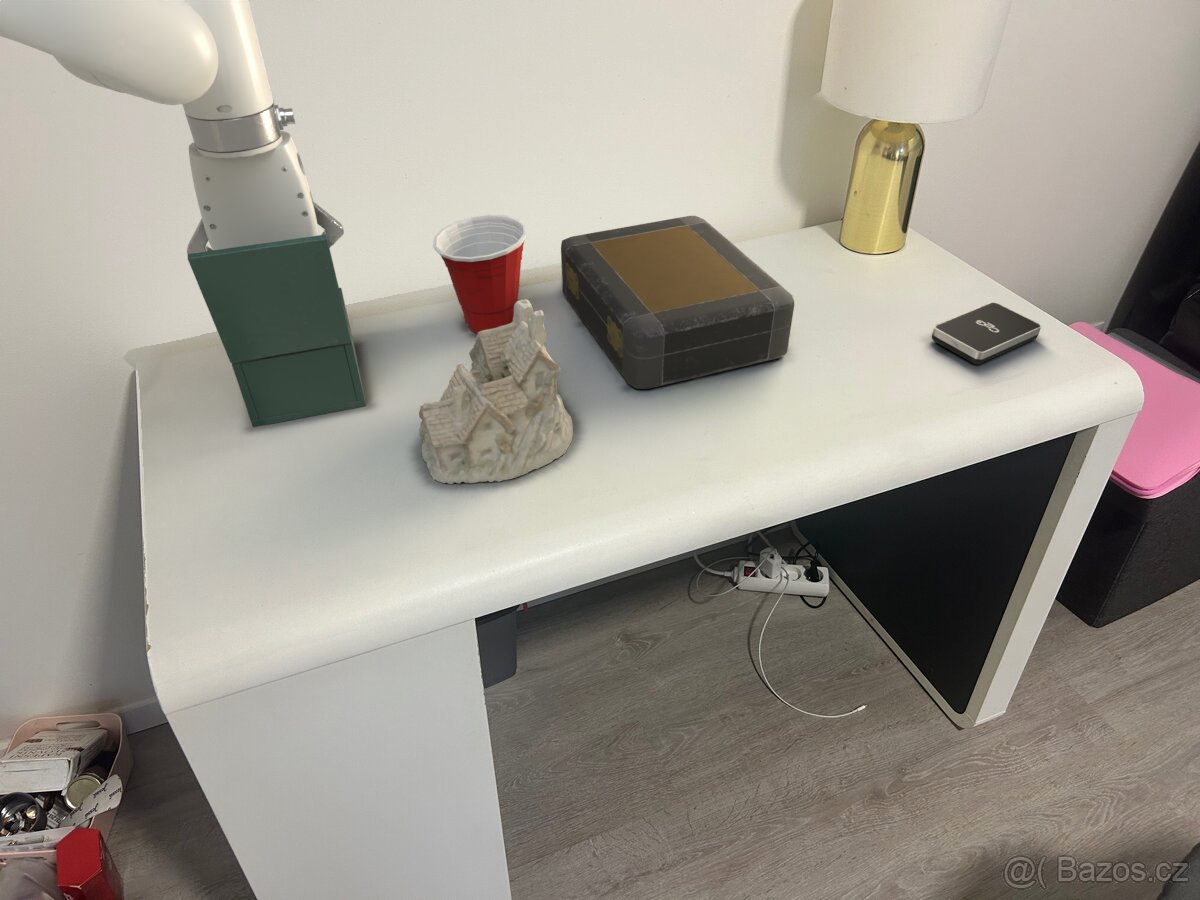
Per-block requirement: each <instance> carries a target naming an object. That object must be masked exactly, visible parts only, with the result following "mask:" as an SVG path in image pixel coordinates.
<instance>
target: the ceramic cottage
mask: <svg viewBox="0 0 1200 900" xmlns="http://www.w3.org/2000/svg"><path fill="white" fill-rule="evenodd" d="M544 321H545V313H544V312H543V309H539V310H535V311H534V308H533V305H532V304H531V302H530V300H529V299H526V298H524V299H520V300H519V299H518V301H517V302H516V303H515V305H514V316H513V322H511V323H510V324H507V325H503V326H500V327H497V328H493V329H488V330H483V331H480V332H478V334H477V333H476V334H477V335H476V336H475V340H474V344H473V346H472V349H470V351H469V353H468V355H469V357H470V360H471V362H472V363H471V369H470V370H468V369H467V368H466V367H465V366H464V364H462V363H459V364H456V370H453V375H452V376H451V377H450V378H449V380H448V383H449V384H448V385H447V388H445V389H444V391H443V392H442V396H441V397H440V399H439V400H438V401H435V402H424V403H423V404H422V405H421V406H420V407H419V411H418V416H419V418H420V419H421V422H420V427H419V429H418V432H419V433H418V436H419V438H421V441H422V444H421V450H420V451H421V452H420V453H421V458H422V460H423V462H424V463H425V464H426V467H427V470H428V472H429V475H430V476H431V477H432V479H433V481H435V480H436V481H437V482H439V483H442V484H446V483H447V484H448V485H449V484H450V485H453V484H455V483H456V484H461V483H465V484H475V483H484V482H486V483H487V482H488V483H492V482H497V483H499V482H502V481H508V480H511V479H516V478H518V477H520V476H523V475H528V474H529V472H532V471H534V470H539V469H540V468H543V467H545V466H547V465H548V464H550V463H553V461H554V460H555V459H556V460H558V458H561V456H563V455H565V454H566V452H567V451H568V449H569V447H570V445H571V443H572V441H573V436H574V424H573V420H572V416H571V415H570V414H569V412H568V410H567V409H565V405H564V401H563V398H562V396H561V395H560V394H559V393H558V377H559V375H560V374H561V372H562V370H561V367H560V365H559V364H558V363H557V362H555V361H554V360H553V358H552V357H551V355H550V354H549V353H548V351H547V348H546V347H545V343H546V341H547V333H546V327H545V325H544Z"/></svg>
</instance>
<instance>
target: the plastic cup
mask: <svg viewBox="0 0 1200 900" xmlns="http://www.w3.org/2000/svg"><path fill="white" fill-rule="evenodd" d="M527 235H528V233H527V225H526V224H525V223H524V222H523V221H521V220H520V219H519V218H517V217H516V218H515V217H512V216H509V215H504V214H482V215H476V216H470V217H466V218H463V219H460V220H456V221H454V222H452V223H450V224H449V225H447V226H444V227H443V228H441V229H440V230H439V231H438V233H436V234H435V236H433V242H432V247H433V249H434V250H435V251H436V253H438V255H440V257H441V260H442V261H443V263H444V266H445V267H446V269H447V271H448V274H449V277H450V281H451V283H452V286H453V289H454V292H455V295H456V298H457V301H458V304H459V305H460V307H461V310H462V314H463V317H464V320H465V323H466V324H467V327H468V329H469V330H470V331H471V332H472V333H474V334H478V332H480V331H483V330H488V329H493V328H497V327H500V326H503V325H507V324H510V323H511V322H513V316H514V305H515V303H516V302H517V301H519V291H520V281H521V280H520V278H521V269H522V268H521V267H522V260H523V251H524V244H525V240H526V239H527Z"/></svg>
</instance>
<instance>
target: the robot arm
mask: <svg viewBox="0 0 1200 900" xmlns="http://www.w3.org/2000/svg"><path fill="white" fill-rule="evenodd" d="M0 37H1V38H5V39H8V40H11V41H14V42H16V43H19V44H22V45H25V46H28V47H30V48H32V49H36V50H38V51H41V52H43V53H46V54H48V55H51V56H52V57H53V58H54V59H55V60H56V61H57V63H58V64H60V66H61V67H62V68H63V69H65V70H66V71H67V72H69V73H70V74H72V76H74V77H76V78H78V79H80V80H81V81H84V82H86V83H88V84H91V85H93V86H96V87H100V88H104V89H107V90H110V91H114V92H117V93H122V94H127V95H130V96H134V97H137V98H141V99H144V100H147V101H150V102H154V103H157V104H161V105H165V106H166V105H167V106H178V105H179V106H180V105H182V108H183V110H184V114H185V118H186V121H187V123H188V127H189V130H190V135H191V137H192V142H191V143H190V144H189V145H188V157H189V164H190V169H191V171H190V172H191V177H192V184H193V187H194V191H195V196H196V200H197V205H198V209H199V212H200V216H201V219H200V220H199V222H198V224H197V227H196V228H195V230H194V232H193V235H192V236H191V238H190V240H189V242H188V244H187V247H186V248H187V249H186V255H188V254H191V253H198V252H206V251H213V250H220V249H227V248H234V247H241V246H248V245H255V244H262V243H269V242H276V241H283V240H290V239H297V238H304V237H311V236H319V228H318V226H320V227H321V228H322V229H323V232H322V233H321V234H320V235H327V239H328V244H329V248H330V249H331V247H332V246H334V245H335V244H336V243H337V242H338V241H339V239H341V237H342V236H343V235H344V232H345V230H344V226H343V224H342V223H341V222H340V221H338V219H336V218H335V217H334V216H333V215H331V214H330V213H329V212H327V211H326V210H325V209H324V208H322V206H320V205H319V204H317V203H316V202H315V201H314V199H313V195H312V192H311V188H310V185H309V181H308V178H307V174H306V171H305V168H304V165H303V162H302V161H303V160H302V159H301V157H300V156H301V155H300V154H299V153H300V152H299V151H298V148H297V146H296V143H295V142H294V140H293V138H292V136H291V133H289V131H284V127H288V126H289V125H295V124H296V119H295V115H294V110H293V108H292V107H290V108H284V107H279V104H276V103H275V100H274V98H273V97H274V96H273V93H272V90H271V86H270V80H269V77H268V73H267V70H266V66H265V61H264V57H263V53H262V50H261V49H262V48H261V45H260V41H259V36H258V33H257V28H256V25H255V21H254V17H253V13H252V7H251V4H250V0H0ZM208 243H209V246H210V247H209V246H208V245H207V244H208Z"/></svg>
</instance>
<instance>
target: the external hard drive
mask: <svg viewBox="0 0 1200 900" xmlns="http://www.w3.org/2000/svg"><path fill="white" fill-rule="evenodd" d="M1041 328H1042V324H1041V323H1039V322H1037V321H1035V320H1034V319H1031V318H1029V317H1027V316H1025V315H1023V314H1021V313H1019V312H1017V311H1014V310H1013V309H1010V307H1009V308H1008V307H1006V306H1004V305H1003V304H1001V303H998V302H995V301H991V302H987V303H985V304H983V305H980V306H978V307H975V308H974V309H971V310H969V311H966V312H964V313H961V314H958V315H957V316H954V317H952V318H949V319H946V320H944V321H941V322H939V323H936V324H935V325H934V326H933V329H932V332H931V340H932V341H934V342H935V343H937V344H938V345H940V346H942V347H943V348H945V349H947V350H949V351H951V352H953V353H954V354H956V355H958V356H960V357H961V358H963V359H965V360H966V361H968V362H970V363H971V364H973V365H980V364H982V363H984V362H986V361H989V360H992V359H993V358H996V357H998V356H1000V355H1002V354H1005V353H1007V352H1009V351H1011V350H1014V349H1016V348H1019V347H1020V346H1023V345H1025V344H1027V343H1029V342H1031V341H1033V340H1035V339H1037V338H1038V336H1039V334H1040V332H1041Z"/></svg>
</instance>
